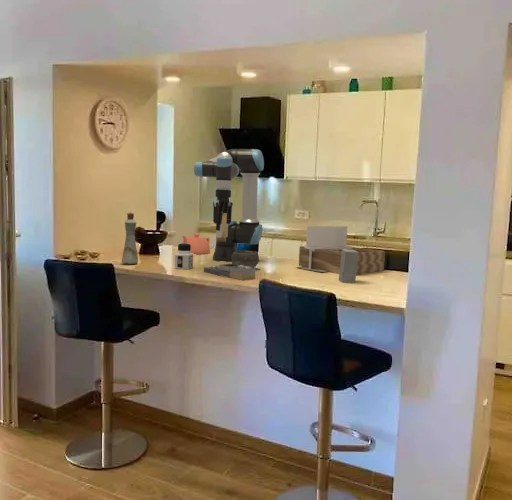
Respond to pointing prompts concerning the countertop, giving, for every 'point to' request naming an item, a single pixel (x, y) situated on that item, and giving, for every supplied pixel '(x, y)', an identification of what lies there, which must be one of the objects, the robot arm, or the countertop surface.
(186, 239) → the teapot
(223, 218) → the pin
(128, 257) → the bottle
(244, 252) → the bowl
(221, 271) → the chain end
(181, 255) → the container
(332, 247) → the white panel on stand
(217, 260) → the robot arm
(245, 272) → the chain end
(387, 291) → the countertop surface
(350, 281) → the skincare box
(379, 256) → the holder caddy
